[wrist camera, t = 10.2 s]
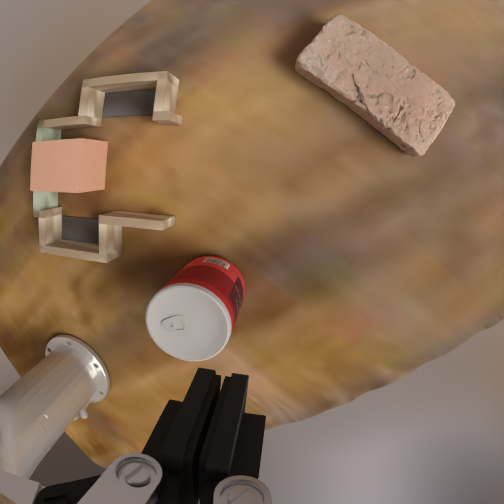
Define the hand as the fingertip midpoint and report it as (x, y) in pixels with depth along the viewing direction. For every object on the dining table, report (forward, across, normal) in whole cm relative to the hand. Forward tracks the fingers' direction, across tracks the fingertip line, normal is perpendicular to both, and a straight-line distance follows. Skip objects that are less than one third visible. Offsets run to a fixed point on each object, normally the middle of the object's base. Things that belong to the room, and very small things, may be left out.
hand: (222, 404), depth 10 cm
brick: (+28, -10, -19) cm, 35 cm away
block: (+27, +25, -7) cm, 38 cm away
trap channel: (+27, +20, -7) cm, 35 cm away
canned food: (+27, +6, +6) cm, 29 cm away
